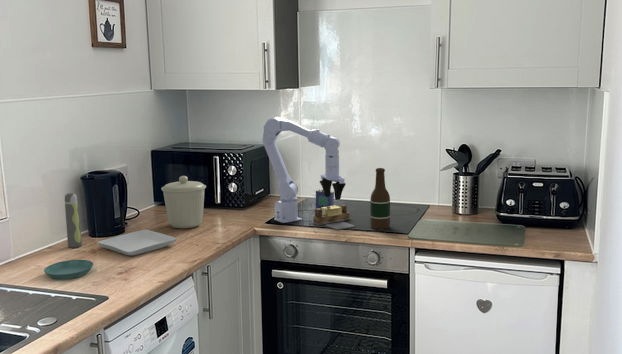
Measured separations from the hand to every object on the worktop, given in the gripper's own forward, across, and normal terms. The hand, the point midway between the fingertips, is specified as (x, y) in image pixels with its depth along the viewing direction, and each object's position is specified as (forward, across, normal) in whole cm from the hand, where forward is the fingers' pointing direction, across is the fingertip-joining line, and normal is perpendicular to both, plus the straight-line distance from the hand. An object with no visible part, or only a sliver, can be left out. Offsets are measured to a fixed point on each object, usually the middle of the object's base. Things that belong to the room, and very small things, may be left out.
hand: (332, 198), depth 254 cm
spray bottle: (+10, +26, +98) cm, 102 cm away
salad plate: (+11, +10, +80) cm, 81 cm away
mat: (+10, -9, +3) cm, 14 cm away
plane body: (+10, 0, +1) cm, 10 cm away
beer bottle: (+10, -20, -9) cm, 24 cm away
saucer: (+11, -6, +107) cm, 108 cm away
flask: (+10, +19, -8) cm, 23 cm away
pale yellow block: (+7, 0, +1) cm, 7 cm away
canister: (+10, +30, +54) cm, 62 cm away
